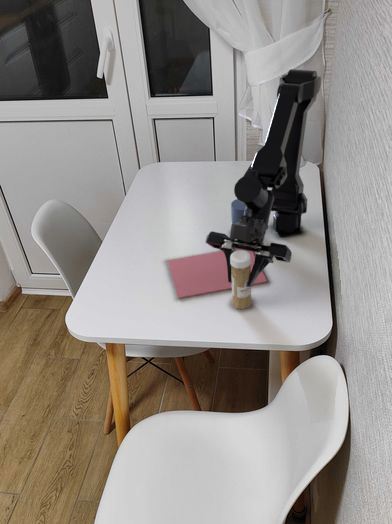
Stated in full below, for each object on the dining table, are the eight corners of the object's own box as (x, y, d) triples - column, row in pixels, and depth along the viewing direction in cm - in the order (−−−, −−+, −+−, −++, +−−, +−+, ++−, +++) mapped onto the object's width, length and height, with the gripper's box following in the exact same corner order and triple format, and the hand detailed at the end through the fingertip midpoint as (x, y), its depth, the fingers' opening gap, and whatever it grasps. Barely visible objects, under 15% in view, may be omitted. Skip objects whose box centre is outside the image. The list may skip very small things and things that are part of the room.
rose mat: (249, 247, 141) (249, 245, 141) (267, 282, 130) (267, 281, 130) (168, 261, 139) (167, 260, 139) (178, 298, 128) (178, 297, 128)
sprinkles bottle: (246, 311, 123) (245, 263, 113) (228, 306, 125) (226, 258, 115) (254, 300, 125) (254, 252, 116) (237, 295, 127) (235, 247, 118)
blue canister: (250, 226, 149) (250, 196, 143) (256, 237, 145) (256, 207, 138) (229, 229, 148) (228, 200, 142) (235, 241, 144) (234, 211, 138)
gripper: (206, 198, 115) (188, 269, 115) (290, 212, 108) (270, 287, 109) (222, 213, 125) (205, 278, 126) (299, 226, 118) (281, 295, 119)
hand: (239, 284), depth 120 cm, fingers closed on sprinkles bottle, 4 cm apart
